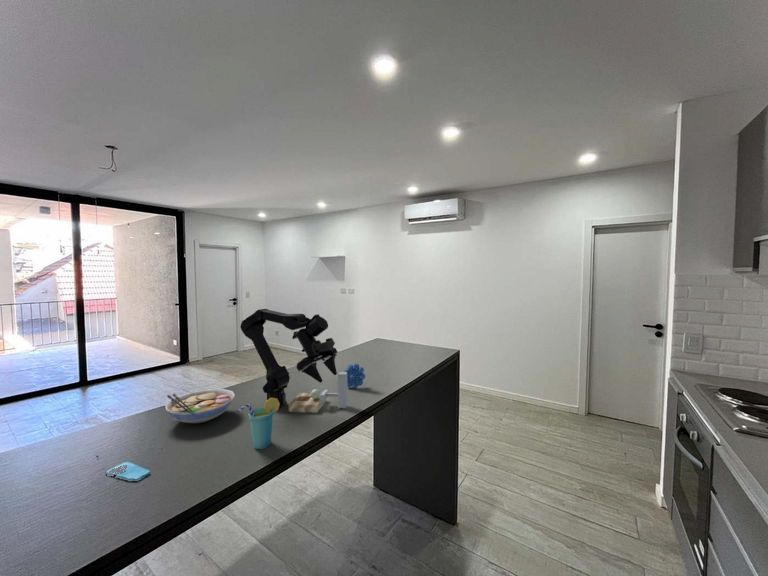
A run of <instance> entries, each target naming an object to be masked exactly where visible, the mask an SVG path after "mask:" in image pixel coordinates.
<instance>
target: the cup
mask: <svg viewBox="0 0 768 576" xmlns="http://www.w3.org/2000/svg"><path fill="white" fill-rule="evenodd" d="M279 406H280V403H279V401H278V399H276V398H270V399H269V400H267V399H266V401H265V402H264V406H263V407H259V408H255V409H253V408H252V406H251V404H249V403H246V404H244V405H242V406H241V407H239V408H237V409H236V411H237V412H240V411H242V410H244V409H246V408H248V410H249V413H248V418H249V423H250V430H251V431H250V432H251V438H252V447H253V449H255V450H263V449H267V448H269V446H270V445H271V444H272V432H273V417H274V415H275V413H276V412H278V411H279V409H280V408H279Z"/></svg>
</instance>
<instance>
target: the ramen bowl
mask: <svg viewBox="0 0 768 576" xmlns="http://www.w3.org/2000/svg"><path fill="white" fill-rule="evenodd" d="M235 396H236V394H235V392H234V391H233V390H229V389H223V388H212V389H210V388H209V389H203V390H197V391H193V392H188V393H185V394H183V395H179V396H178V395H176V393H172V396H171V395H170V394H167V395H166V397H167V398H168V399H170V401H168V402H167V403H166V404H165V405H164V406H165V411H166V412H167V414H168V415H169V416H170V417H171V418H173V419H175V420H176V421H179V422H181V423H189V424H202V423H206V422H209V421H211V420H212V419H215V418H218V417H219V416H220V415H222V414H223V413H224V412H226V411H227V409H228V408H229V407H230V406H231V404H232V402H233V400H234V398H235Z"/></svg>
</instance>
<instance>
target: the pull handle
mask: <svg viewBox="0 0 768 576" xmlns="http://www.w3.org/2000/svg"><path fill="white" fill-rule="evenodd" d="M337 374H338V375H337V381H338V382H337V385H338V387H337V389H338V390H337V391H338V392H329V389H326V388H325V389H324V390H323V391H322V392H320V394H321V395H320V401H325V400H326V401H327V398H329V397H334V398H335V397H337V398H338V409H347V408H348V401H349V399H348V394H349V393H348V387H347V372H344V371H340V372H339V373H337ZM326 401H325V402H326Z"/></svg>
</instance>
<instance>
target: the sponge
mask: <svg viewBox="0 0 768 576" xmlns="http://www.w3.org/2000/svg"><path fill="white" fill-rule="evenodd" d="M123 465H124V466H125V465H127V468H126V469H125V468H124V467H123ZM120 466H122V467H123V468H124V469H125V470H126V472H124V470H123V472H124V473H122V474H120V473H119V474H117V475H116V476H119V477H122V478H126V479H129V480H130V479H133V480H138V479H140V478H142V477H144V476H146V475H148V474H150V473H151V471H150V470H149V469H146V468H144V467H142V466H139V465H137V464H136V463H133V462H131V461H124V462H122V463H120V464H118V465H115V466H114V467H112V468H110V469H108V470H106V471H105V473H106V472H107V473H109V471H111V470H112V469H114V468H115V469H116V468H118V467H120ZM122 467H121V468H122ZM123 468H122V469H123ZM120 470H121V469H120ZM111 473H112V472H111ZM116 473H117V472H116ZM112 474H115V472H114V473H112ZM150 475H151V474H150ZM148 476H149V475H148Z"/></svg>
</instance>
